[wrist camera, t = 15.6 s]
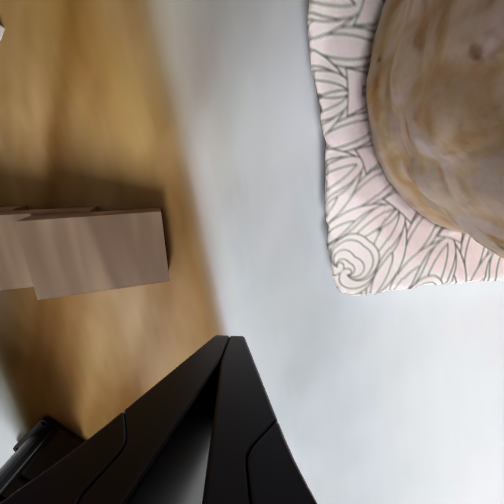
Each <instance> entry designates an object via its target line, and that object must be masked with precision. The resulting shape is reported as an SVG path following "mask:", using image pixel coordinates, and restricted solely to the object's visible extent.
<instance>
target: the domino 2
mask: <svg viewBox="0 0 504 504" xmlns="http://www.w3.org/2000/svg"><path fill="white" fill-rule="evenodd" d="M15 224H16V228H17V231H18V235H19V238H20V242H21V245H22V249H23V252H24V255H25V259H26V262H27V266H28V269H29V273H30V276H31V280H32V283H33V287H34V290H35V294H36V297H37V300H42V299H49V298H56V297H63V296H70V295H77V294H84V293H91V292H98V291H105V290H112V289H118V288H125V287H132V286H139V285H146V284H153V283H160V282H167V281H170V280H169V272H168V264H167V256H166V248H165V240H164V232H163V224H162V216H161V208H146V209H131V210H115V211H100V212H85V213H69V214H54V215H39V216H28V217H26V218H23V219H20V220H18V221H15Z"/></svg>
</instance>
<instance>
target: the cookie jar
mask: <svg viewBox="0 0 504 504" xmlns="http://www.w3.org/2000/svg"><path fill="white" fill-rule="evenodd" d="M307 23H308V39H309V48H310V58H311V71H312V74H313V77H314V81H315V86H316V91H317V95H318V100H319V104H320V117H321V127H322V132H323V135H324V138H325V140H326V149H325V168H326V178H325V214H326V221H327V223H328V239H327V247H328V251H329V253H330V256H331V266H332V273H333V278H334V280H335V283H336V287H337V289H338V290H339V291H340V292H342V293H344V294H348V295H351V296H358V295H368V294H370V293H371V294H373V295H375V294H377V293H381V292H383V291H387V290H399V289H411V288H415V287H419V286H422V285H430V284H432V285H440V284H458V283H464V282H468V281H471V282H476V281H500V280H504V0H309V10H308V18H307Z"/></svg>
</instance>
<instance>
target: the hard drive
mask: <svg viewBox="0 0 504 504" xmlns="http://www.w3.org/2000/svg"><path fill="white" fill-rule="evenodd" d="M4 30H5V28H4V27H3V26H1V25H0V42H1V39H2V36H3V33H4Z"/></svg>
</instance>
